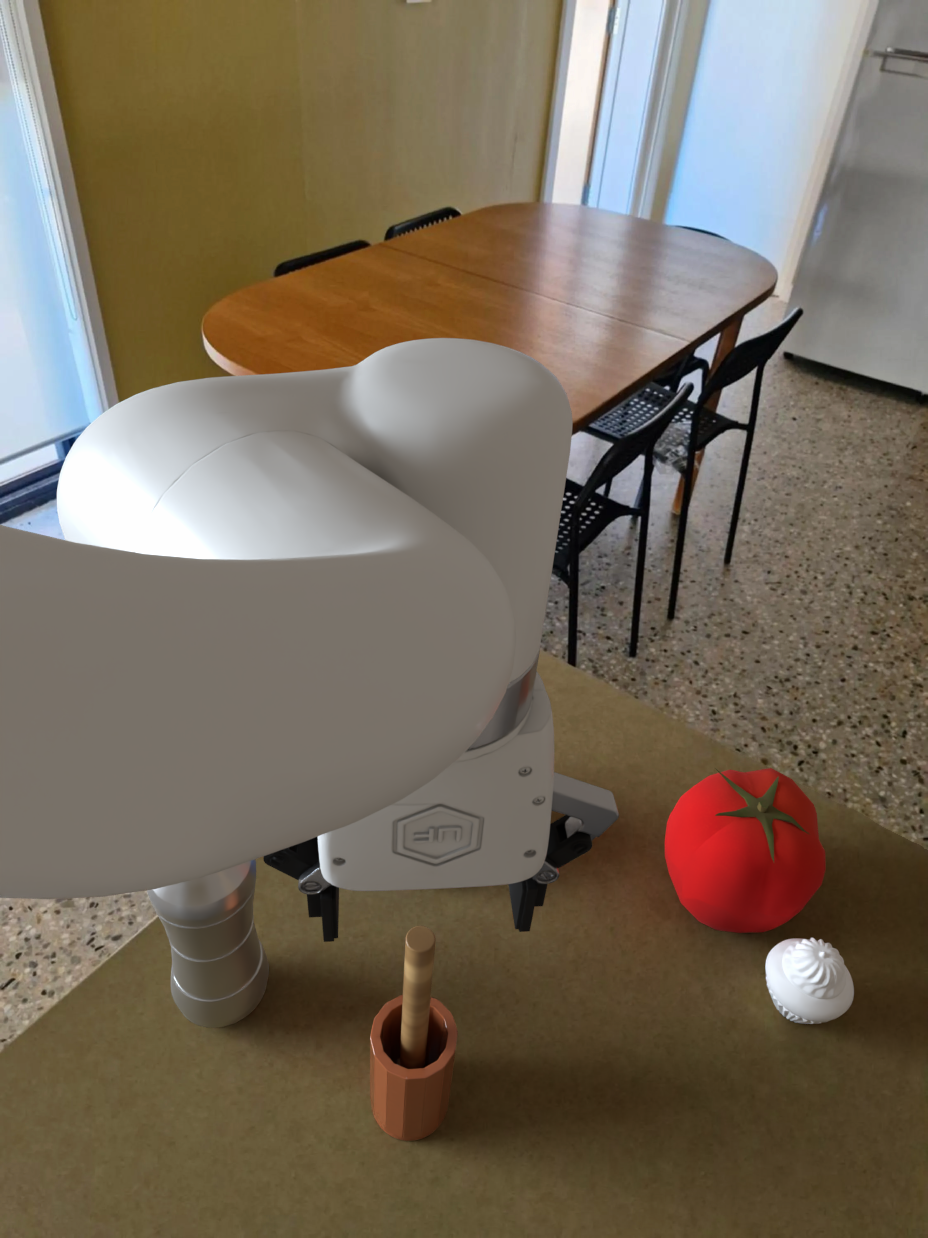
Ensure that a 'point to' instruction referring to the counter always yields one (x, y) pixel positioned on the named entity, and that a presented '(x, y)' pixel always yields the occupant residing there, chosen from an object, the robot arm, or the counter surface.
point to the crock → (411, 1073)
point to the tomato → (744, 850)
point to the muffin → (808, 981)
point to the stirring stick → (416, 996)
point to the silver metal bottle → (214, 945)
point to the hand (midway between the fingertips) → (425, 911)
